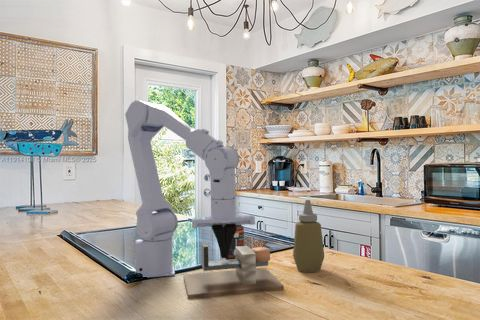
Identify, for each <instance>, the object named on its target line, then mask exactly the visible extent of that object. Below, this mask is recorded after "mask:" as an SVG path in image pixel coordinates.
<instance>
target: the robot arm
mask: <svg viewBox="0 0 480 320" xmlns="http://www.w3.org/2000/svg"><path fill="white" fill-rule="evenodd" d="M124 116H125V120H126V125H127V139H128V145H129V146H128V147H129V150H130V153H131V158H132V164H133V167H134V172H135V176H136V180H137V185H138V189H139V195H140V200H141V202H142V203H141V205H140V206H139V208H138V209H137V210H136V212H135V214H136V231H137V234H138V235H139V237H140V238H141V239H135V243H134V245H135V246H134V251H135V252H134V256H135V257H134V258H135V259H134V260H135V261H134V270H135V273H136V272H139V273H142V274H143V277H147V278H157V277H158V278H160V277H170V276H175V273H176V272H175V266H174V264H173V261H174V260H173V237H174V232H175V231H176V230H177V228H178V225H179V220H178V216H177V215H176V213H175V212H174V210H173V207H172V203H170V202H169V201H168V200H166V199H165V198H164V194H163V190H162V186H161V182H160V178H159V177H160V176H159V173H158V169H157V165H156V158H155V157H154V156H155V155H154V152H153V147H152V143H151V141H152V139H153V138H154V137H156V135H158V134H159V132H160V131H162V129H163V128H166V129H168V130H169V131H171V132H172V133H174V134H175V135H177V136H179V137H180V138H181V139H183V140H184V141H185V146H186V148H187V149H188V150H190V151H191V152H192V153H194V154H195V155H196V156H197V157H198V158H200V159H201V160H202V161H204V163H205V166H206V168H207V170H208V172H209V177H210V216H206V217H205V216H204V217H195V218H194V217H193V218H191V228H192V229H198V228H207V227H208V228H209V227H210V228H211V229H212V232H213V234H214V236H215V239H216V242H217V245H218V247H219V253H220V254H219V255H220V257H221V259H229V258H228V253H229V248H230V245H231V242H232V239H233V237H234V235H235V233H236V230H237V227H236V225H242V226H243V225H251V226H254V225H256V217H255V215H253V214H251V215H249V214H248V215H236V214H237V212H236V211H237V210H236V209H237V208H236V168H238V166H239V164H240V163H239V162H240V155H239V153H238V151H237V150H235V148H234V147H233V146H229V145H228V146H224V142H223V141H222V140H219V139H218V140H217V139H216V138H214V137H213V136H212V135H210V131H209V130H208V129H206V128H201V127H200V128H199V127H198V128H195V129H194V128H193V127H191V126H190V125H189V124H188V123H187V122H185V121H184V120H183V119H182V118H180V117H179V115H177V114H176V113H175V112H173V110H172V109H171V108H169V107H167V106H165V104H161V103H152V102H146V101H142V100H139V99H137V100H133V101H132V102H131V103H130V104H129V106H128V108H127V110H126V112H125V114H124ZM231 222H232V223H231Z"/></svg>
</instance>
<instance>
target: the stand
mask: <svg viewBox="0 0 480 320" xmlns="http://www.w3.org/2000/svg"><path fill="white" fill-rule="evenodd" d="M251 249H252V248H250V247H249V246H248V245H244V246H238V247H235V255H236V259H239V261H240V262H241V268H235V269H234V270H223V271H222V270H221V271H209V272H199V273H188V274H183V281H184V286H185V289H186V290H185V291H186V295H187V299H197V298H198V299H200V298H208V297H219V296H228V295H229V296H230V295H237V294H250V293H260V292H268V291H269V292H270V291H280V290H284V289H285V286H284V284H283V283H281V281H280V280H279V279H278V278H276V276H275V275H274V274H273V273H272V272H271V271H270V270H269V269H268V268H267V267H260V268H257V267H256V254H255V253H254V252H253V251H252V250H251Z"/></svg>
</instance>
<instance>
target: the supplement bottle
mask: <svg viewBox="0 0 480 320" xmlns="http://www.w3.org/2000/svg"><path fill="white" fill-rule="evenodd" d="M231 223H232V222H231ZM236 227H237V230H236V233H235V235H234V237H233V239H232V242H231V245H230V248H229V253H228V258H227V259H236V255H235V247H238V246H245V228H244V226H243V225H236Z"/></svg>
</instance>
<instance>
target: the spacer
mask: <svg viewBox="0 0 480 320" xmlns="http://www.w3.org/2000/svg"><path fill="white" fill-rule="evenodd" d="M250 249H251V250H252V251H253V252H254V253H255V254H256V262H267V261H268V262H270V261H271V248H268V247H264V246H258V247H257V246H256V247H252V248H250Z"/></svg>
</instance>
